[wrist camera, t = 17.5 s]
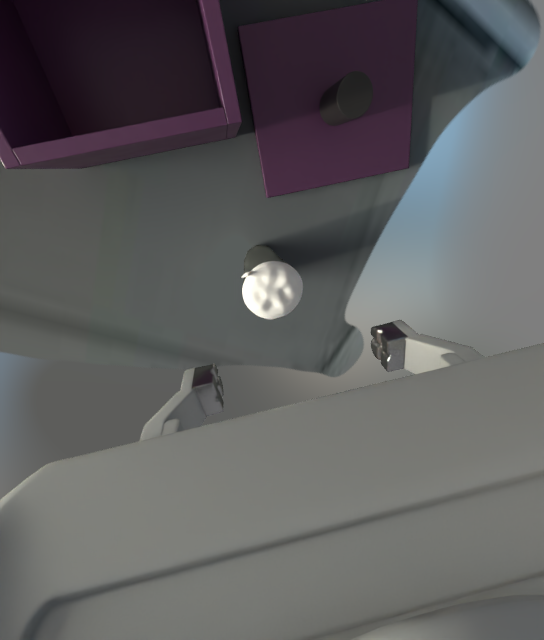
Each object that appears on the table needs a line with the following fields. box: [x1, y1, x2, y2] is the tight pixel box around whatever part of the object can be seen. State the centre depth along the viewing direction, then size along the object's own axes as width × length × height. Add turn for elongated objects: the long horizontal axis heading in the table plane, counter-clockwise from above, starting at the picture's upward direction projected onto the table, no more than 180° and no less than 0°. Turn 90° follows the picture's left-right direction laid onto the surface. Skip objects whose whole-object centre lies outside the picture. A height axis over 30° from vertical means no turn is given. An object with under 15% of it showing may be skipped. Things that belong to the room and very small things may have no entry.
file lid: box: [238, 0, 418, 198], centre depth 21 cm, size 13×11×5 cm
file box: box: [0, 0, 242, 169], centre depth 16 cm, size 13×11×9 cm
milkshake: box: [240, 245, 303, 319], centre depth 24 cm, size 4×5×10 cm
